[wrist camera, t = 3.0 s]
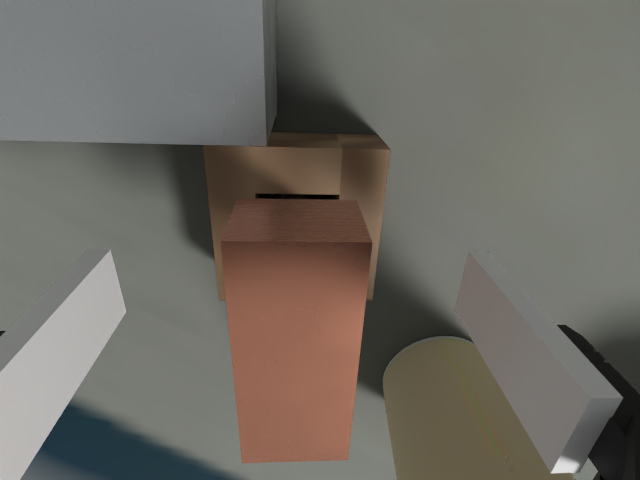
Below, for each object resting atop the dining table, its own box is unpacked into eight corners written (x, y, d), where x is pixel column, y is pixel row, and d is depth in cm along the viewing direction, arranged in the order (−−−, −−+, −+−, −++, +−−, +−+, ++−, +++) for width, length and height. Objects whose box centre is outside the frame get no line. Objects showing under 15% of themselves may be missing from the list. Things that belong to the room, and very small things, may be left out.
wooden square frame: (377, 134, 19) (390, 149, 16) (363, 269, 23) (372, 300, 20) (216, 130, 18) (202, 145, 16) (228, 269, 22) (219, 300, 19)
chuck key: (332, 133, 19) (372, 242, 9) (325, 269, 22) (348, 459, 12) (263, 131, 19) (220, 240, 8) (268, 269, 22) (242, 462, 12)
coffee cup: (452, 430, 30) (535, 641, 20) (348, 401, 28) (378, 620, 17) (526, 349, 26) (680, 555, 16) (413, 307, 24) (503, 515, 14)
